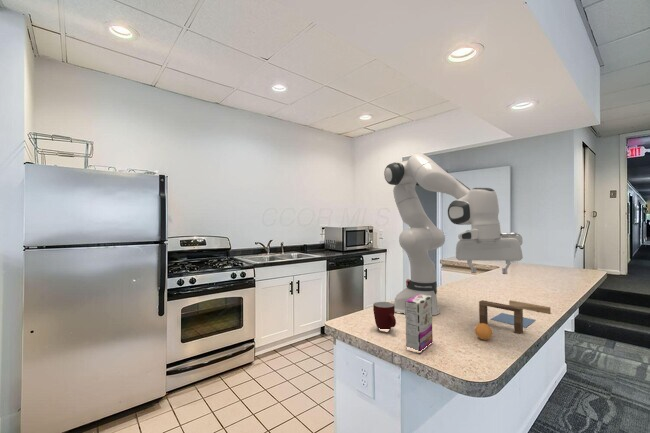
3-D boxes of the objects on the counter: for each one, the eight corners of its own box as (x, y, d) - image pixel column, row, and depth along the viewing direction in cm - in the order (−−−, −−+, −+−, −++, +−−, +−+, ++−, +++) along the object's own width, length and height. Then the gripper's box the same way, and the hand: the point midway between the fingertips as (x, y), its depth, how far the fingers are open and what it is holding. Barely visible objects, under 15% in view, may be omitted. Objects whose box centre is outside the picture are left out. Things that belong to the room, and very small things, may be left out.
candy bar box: (419, 339, 107) (418, 293, 107) (433, 343, 103) (432, 295, 103) (405, 350, 98) (404, 300, 98) (419, 354, 95) (419, 302, 95)
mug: (404, 333, 113) (404, 306, 113) (388, 338, 108) (388, 310, 108) (384, 325, 121) (383, 300, 122) (369, 329, 117) (368, 303, 117)
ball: (476, 341, 105) (475, 325, 105) (474, 335, 110) (473, 320, 110) (493, 343, 103) (493, 327, 103) (490, 337, 108) (490, 321, 108)
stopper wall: (549, 313, 134) (549, 308, 134) (509, 306, 146) (509, 301, 146) (550, 312, 135) (550, 307, 135) (510, 305, 147) (510, 300, 147)
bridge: (520, 334, 110) (519, 309, 111) (479, 324, 121) (479, 301, 122) (523, 332, 112) (522, 307, 113) (482, 322, 123) (482, 300, 124)
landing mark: (525, 327, 117) (525, 327, 117) (490, 319, 127) (490, 319, 127) (535, 320, 125) (535, 319, 125) (501, 313, 135) (501, 312, 135)
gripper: (521, 231, 101) (524, 272, 101) (455, 234, 112) (458, 271, 111) (522, 232, 96) (525, 276, 95) (453, 235, 106) (456, 274, 106)
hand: (489, 273), depth 103 cm, fingers open, 8 cm apart
